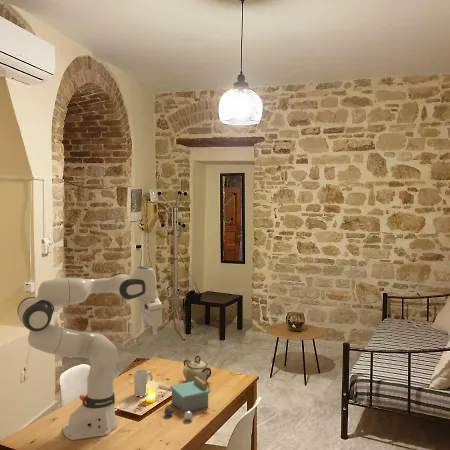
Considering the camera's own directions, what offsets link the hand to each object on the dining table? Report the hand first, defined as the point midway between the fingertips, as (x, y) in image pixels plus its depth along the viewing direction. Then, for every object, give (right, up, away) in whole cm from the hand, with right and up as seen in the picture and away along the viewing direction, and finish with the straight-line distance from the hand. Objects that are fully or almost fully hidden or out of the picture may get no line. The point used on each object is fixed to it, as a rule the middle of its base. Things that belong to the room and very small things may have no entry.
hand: (151, 331), depth 218 cm
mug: (-7, -37, +24) cm, 45 cm away
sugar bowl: (+19, -37, +39) cm, 57 cm away
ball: (+8, -39, +2) cm, 40 cm away
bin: (+17, -38, +13) cm, 44 cm away
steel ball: (+17, -39, -2) cm, 43 cm away
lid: (+17, -31, +12) cm, 37 cm away
